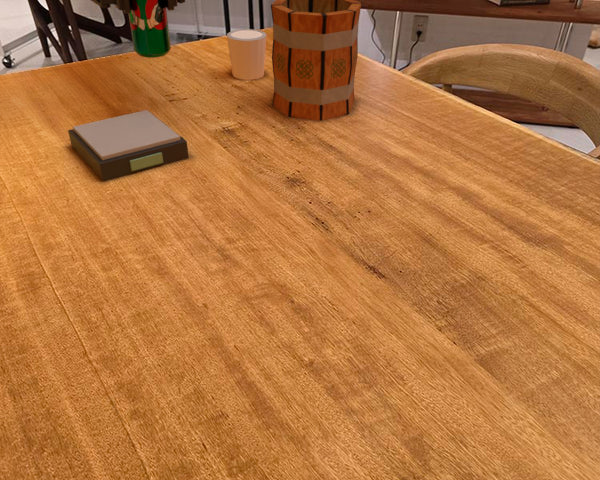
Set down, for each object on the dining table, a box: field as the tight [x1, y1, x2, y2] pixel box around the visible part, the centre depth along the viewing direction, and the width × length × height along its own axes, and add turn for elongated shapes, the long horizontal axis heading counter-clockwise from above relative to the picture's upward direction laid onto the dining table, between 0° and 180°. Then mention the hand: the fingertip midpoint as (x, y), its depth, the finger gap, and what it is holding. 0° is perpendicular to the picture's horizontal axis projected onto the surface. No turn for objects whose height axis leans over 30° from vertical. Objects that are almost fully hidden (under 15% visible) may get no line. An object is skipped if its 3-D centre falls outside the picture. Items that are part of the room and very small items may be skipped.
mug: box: [270, 0, 362, 122], centre depth 93 cm, size 20×14×15 cm
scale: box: [67, 109, 189, 182], centre depth 80 cm, size 12×12×3 cm
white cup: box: [226, 28, 267, 81], centre depth 104 cm, size 7×7×7 cm
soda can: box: [128, 0, 172, 59], centre depth 79 cm, size 5×5×12 cm
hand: (149, 3), depth 77 cm, fingers closed on soda can, 5 cm apart
